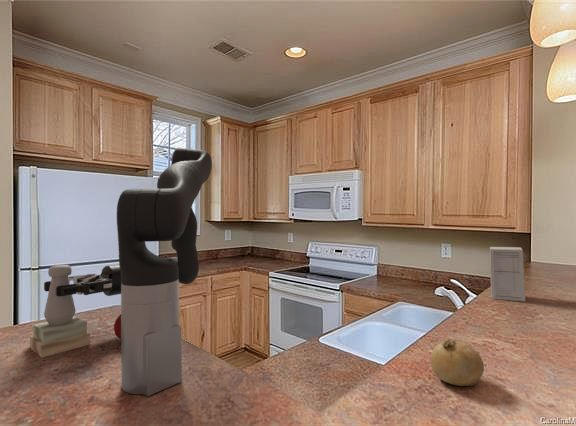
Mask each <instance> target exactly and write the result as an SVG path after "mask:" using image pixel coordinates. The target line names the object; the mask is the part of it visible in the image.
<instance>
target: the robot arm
mask: <svg viewBox="0 0 576 426" xmlns="http://www.w3.org/2000/svg"><path fill="white" fill-rule="evenodd" d="M212 162H213V161H212V157H211V155H210V152H208V151H206V150H203V149H197V148H196V149H195V148H186V147H177V148H175V149H174V151H173V153H172V158H171V165H170V164H169V166H168V167H167V168H165V170H163V171H162V173H160V174H159V177H158V179H157V182H156V188H128V189H125V190H123V191H122V192H121V193H120V195H119V198H118V201H117V204H116V226H117V227H116V229H117V240H118V241H117V242H118V243H117V244H118V245H117V246H118V262H119V263H118V264H111V265H110V264H109V265H105V266H104V267H103V268H102V269H101V273H100V274H96V273H88V274H82V275H80V274H79V275H74V276H73V275H72V276H68V277H69V282H73V283H70V284H68V285H61V286H57V287H56V296H58V297H60V296H66V295H72V296H73V295H79V296H80V295H83V296H89V295H94V294H99V293H103V294H104V295H106V296H108V297H110V296H111V297H112V296H117V295H120V314H121V339H120V346H121V347H120V350H121V351H120V353H121V354H120V355H121V356H120V358H121V361H120V362H121V389H122V391H124V392H125V393H128V394H133V395H144V396H146V397H149V396H152V395H154V394H156V393H158V392H161V391H163V390H165V389H167V388H170V387H173V386H174V385H175V386H176V385H177V384H179V383H181V382H182V381H183V377H182V376H183V373H182V371H183V369H182V367H183V365H182V358H183V357H182V326H181V325H180V308H179V307H180V306H179V305H180V298H179V297H180V295H179V294H180V292H179V291H180V290H179V288H180V287H179V286H180V285H179V283H180V284H182V285H190V284H192V283H193V282H195V280H196V278H197V277H198V275H199V269H200V262H199V256H198V251H197V250H198V249H197V244H196V243H197V236H198V233H197V232H198V219H197V216H196V214H195V212H194V210H193V208H192V206H193V204H194V202H195V200H196V198H197V196H199V193H200V191H201V189H202V187H203V186H202V185H203V184H204V183H206V181H208V179H209V178H210V176H211V173H212V168H213V163H212ZM170 241H171V243H170V245H171V248H172V249H173V250H175V253H176V256H171V257H165V258H163V257H161V256H159V255H157V254H155V253H153V252H151V251H150V250H149V249H148V247H147V244H146V242H170ZM50 284H51V280H49V281H45V282H44V283H43V289H44V290H43V291H45V292H49V288H50Z"/></svg>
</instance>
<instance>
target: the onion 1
mask: <svg viewBox="0 0 576 426" xmlns="http://www.w3.org/2000/svg"><path fill="white" fill-rule="evenodd" d="M113 332H114V335H115V336H116V337H117V338H118V339H119V340H121V313H120V314H119V315H118V316H117V318H116V319H115V321H114V324H113Z"/></svg>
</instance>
